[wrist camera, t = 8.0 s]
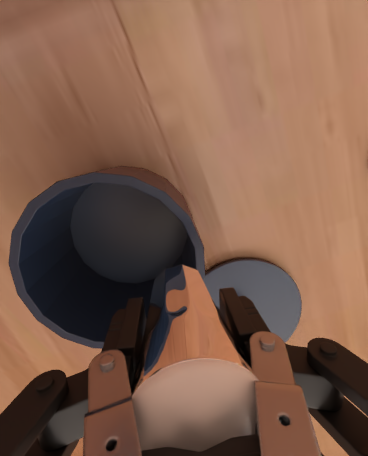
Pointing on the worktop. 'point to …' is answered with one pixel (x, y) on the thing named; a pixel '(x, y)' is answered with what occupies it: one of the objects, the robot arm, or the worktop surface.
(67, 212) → the tin
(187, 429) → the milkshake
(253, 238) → the worktop surface
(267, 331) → the robot arm
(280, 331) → the tin lid
